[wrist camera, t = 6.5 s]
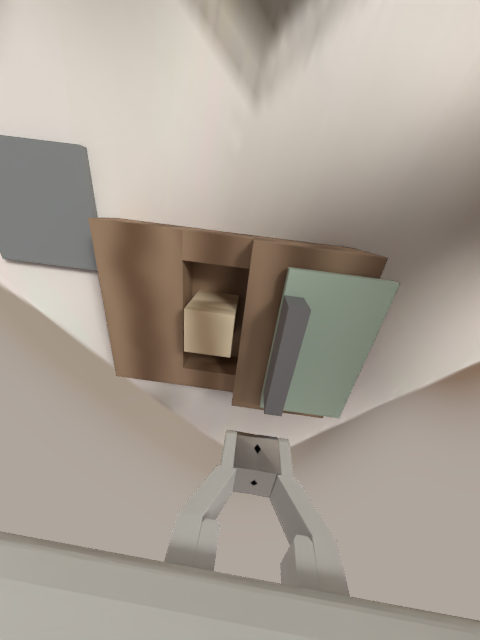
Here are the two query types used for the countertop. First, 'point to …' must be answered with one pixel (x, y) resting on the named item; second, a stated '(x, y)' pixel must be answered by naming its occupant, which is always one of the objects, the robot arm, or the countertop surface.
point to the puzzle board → (182, 285)
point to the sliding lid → (322, 340)
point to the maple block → (210, 323)
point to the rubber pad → (46, 203)
